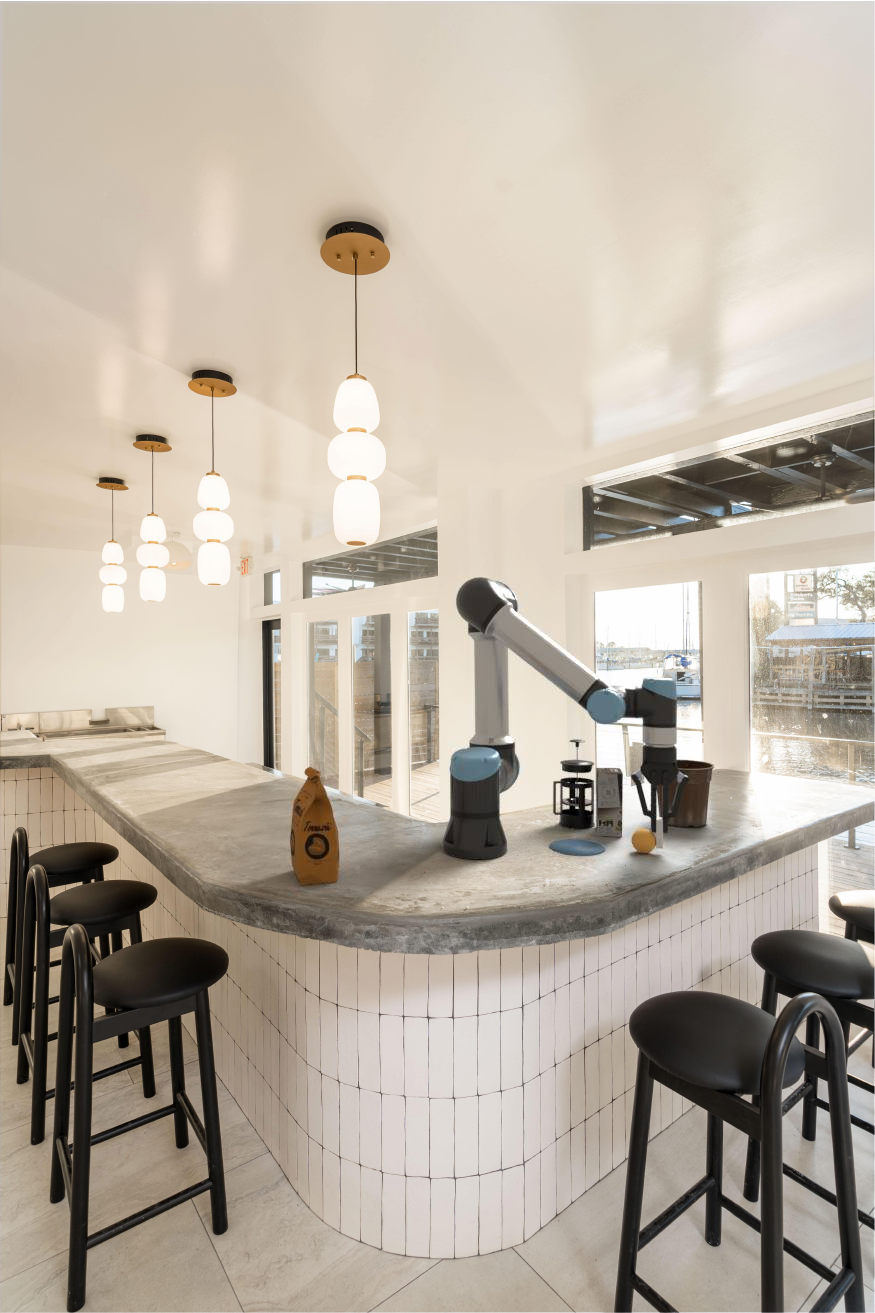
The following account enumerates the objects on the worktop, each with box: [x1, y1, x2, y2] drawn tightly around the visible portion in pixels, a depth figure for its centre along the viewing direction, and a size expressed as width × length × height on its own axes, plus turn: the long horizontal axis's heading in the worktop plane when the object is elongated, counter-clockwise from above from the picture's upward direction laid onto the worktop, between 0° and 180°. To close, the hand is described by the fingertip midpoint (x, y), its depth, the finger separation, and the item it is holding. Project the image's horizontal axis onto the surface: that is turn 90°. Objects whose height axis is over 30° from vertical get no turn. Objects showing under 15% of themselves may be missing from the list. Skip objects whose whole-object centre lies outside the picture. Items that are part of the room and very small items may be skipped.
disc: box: [549, 838, 606, 857], centre depth 159 cm, size 13×13×1 cm
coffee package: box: [289, 766, 340, 886], centre depth 139 cm, size 10×12×22 cm
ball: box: [630, 828, 656, 854], centre depth 155 cm, size 6×6×6 cm
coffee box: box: [595, 767, 624, 838], centre depth 173 cm, size 9×6×16 cm
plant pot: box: [657, 759, 715, 828], centre depth 183 cm, size 16×16×16 cm
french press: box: [552, 738, 596, 830], centre depth 180 cm, size 12×9×23 cm
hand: (659, 846), depth 154 cm, fingers closed
